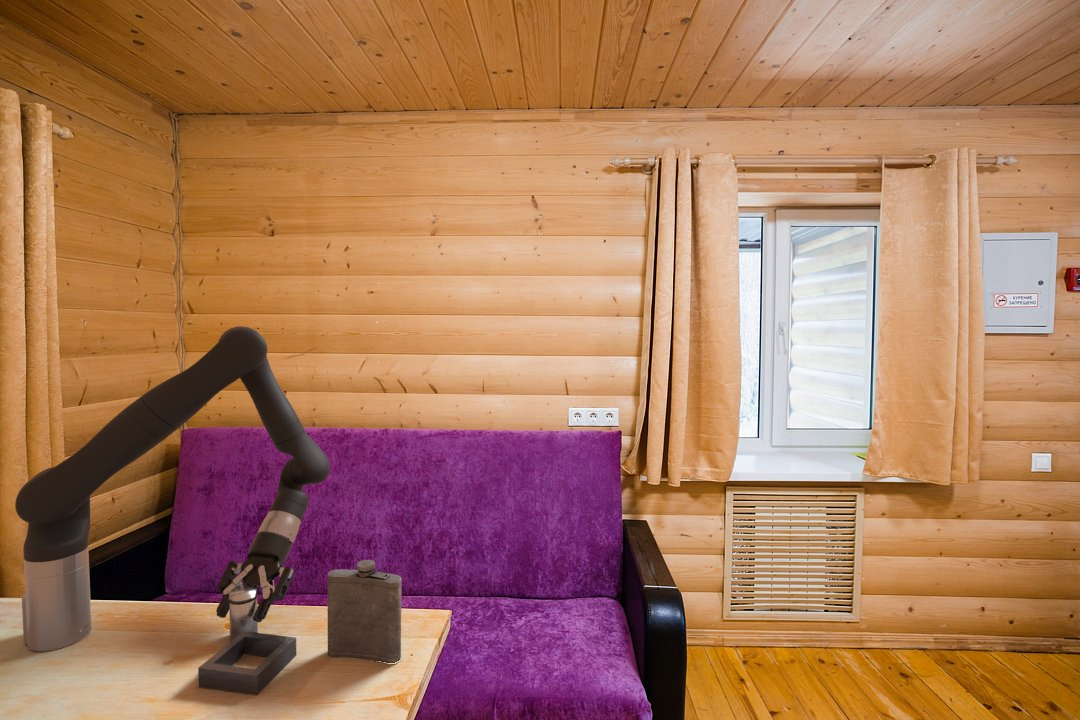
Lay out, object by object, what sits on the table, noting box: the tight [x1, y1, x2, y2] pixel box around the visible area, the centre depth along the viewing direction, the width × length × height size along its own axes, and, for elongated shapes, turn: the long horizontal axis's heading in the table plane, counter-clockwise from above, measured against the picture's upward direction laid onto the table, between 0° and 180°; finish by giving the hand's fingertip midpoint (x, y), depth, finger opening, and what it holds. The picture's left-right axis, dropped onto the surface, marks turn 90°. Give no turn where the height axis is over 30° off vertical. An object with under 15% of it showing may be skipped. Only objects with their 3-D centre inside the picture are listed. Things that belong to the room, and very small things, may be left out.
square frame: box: [197, 631, 297, 696], centre depth 96 cm, size 11×11×4 cm
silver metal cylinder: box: [229, 584, 259, 642], centre depth 106 cm, size 5×5×10 cm
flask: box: [327, 559, 403, 663], centre depth 101 cm, size 4×14×18 cm, turn 82°
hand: (238, 618), depth 104 cm, fingers open, 7 cm apart
